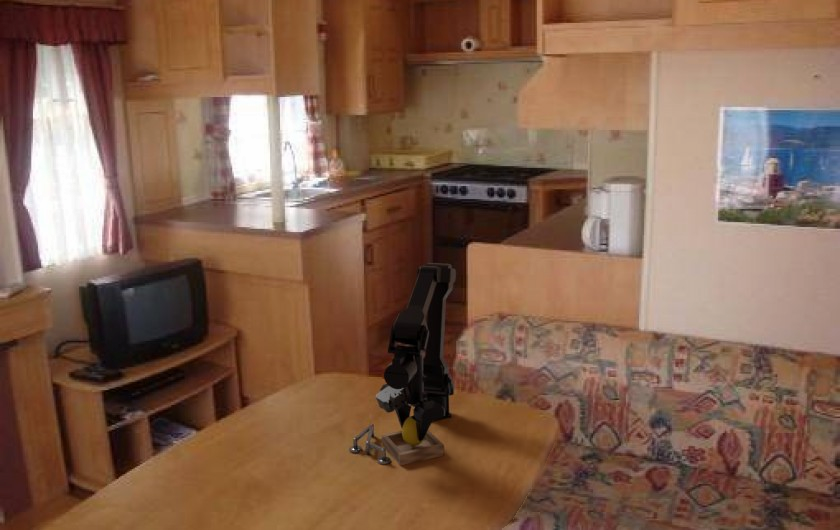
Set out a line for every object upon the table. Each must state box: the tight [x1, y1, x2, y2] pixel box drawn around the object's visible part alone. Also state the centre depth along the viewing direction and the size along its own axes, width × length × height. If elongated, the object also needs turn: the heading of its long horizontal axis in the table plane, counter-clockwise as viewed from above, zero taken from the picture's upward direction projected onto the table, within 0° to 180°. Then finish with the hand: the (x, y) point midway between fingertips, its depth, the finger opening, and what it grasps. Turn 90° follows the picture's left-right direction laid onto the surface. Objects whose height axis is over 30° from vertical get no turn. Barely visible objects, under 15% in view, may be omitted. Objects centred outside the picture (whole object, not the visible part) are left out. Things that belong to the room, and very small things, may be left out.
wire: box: [348, 423, 392, 465], centre depth 183 cm, size 8×15×3 cm, turn 24°
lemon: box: [401, 414, 425, 447], centre depth 183 cm, size 6×6×8 cm
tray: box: [381, 429, 445, 466], centre depth 183 cm, size 11×11×3 cm
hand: (412, 434), depth 183 cm, fingers open, 7 cm apart
